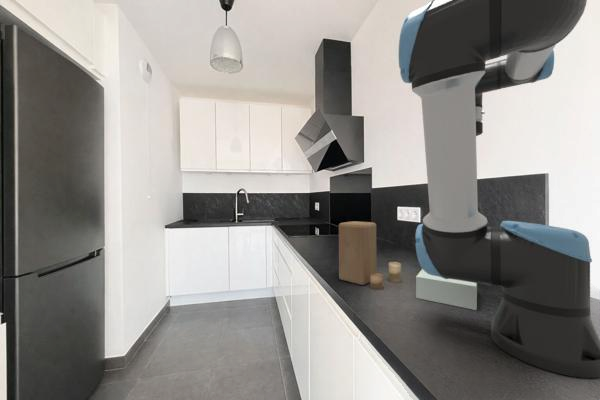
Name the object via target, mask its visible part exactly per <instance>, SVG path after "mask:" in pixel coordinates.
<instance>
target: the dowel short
mask: <svg viewBox="0 0 600 400" xmlns="http://www.w3.org/2000/svg"><path fill="white" fill-rule="evenodd" d="M369 284H370V285H369V287H370V289H373V290H376V291H378V290H379V291H380V290H384V274H382V273H372V274H370V282H369Z"/></svg>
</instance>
